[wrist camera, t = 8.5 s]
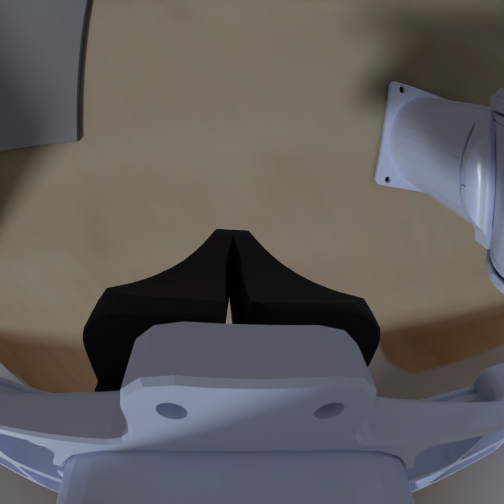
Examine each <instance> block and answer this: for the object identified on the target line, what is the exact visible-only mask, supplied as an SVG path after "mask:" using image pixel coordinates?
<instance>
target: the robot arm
mask: <svg viewBox="0 0 504 504" xmlns="http://www.w3.org/2000/svg"><path fill="white" fill-rule="evenodd" d="M400 87H402V89H403V92H402V93H401V92H400V90H399V88H400ZM490 105H491V107H489V106H484V105H478V104H472V103H466V102H459V101H452V100H447V99H444V98H442V97H439V96H437V95H434V94H431V93H429V92H426V91H423V90H421V89H418V88H415V87H412V86H409V85H406V84H403V83H400V82H395V81H393V82H391V83H390V84H389V87H388V95H387V103H386V111H385V118H384V125H383V132H382V138H381V144H380V150H379V156H378V162H377V167H376V172H375V181H376V182H377V183H378V184H380V185H384V186H391V187H396V188H402V189H408V190H413V191H419V192H424V193H427V194H428V195H430V196H431V197H433V198H434V199H436V200H437V201H439V202H440V203H442V204H444V205H445V206H447V207H448V208H449V209H451V210H452V211H454V212H455V213H457V214H458V215H460V216H461V217H463V218H464V219H465V220H467V221H468V222H470V223H471V224H472V225H473V226H474V229H475V240H476V241H477V242H479V243H480V244H481V245H482V246H483V247H485V248H486V249H487V250H488V251H487V255H486V270H487V273H488V276H489V277H490V279H491V281H492V282H493V284H494V285H495V286H496V287H497V288H498V289H499V290H500V291H501V292H502V293H503V294H504V88H499V89H498V90H497V91H496V93H495V95H492V96H491V97H490ZM387 176H388V177H389V179H388V181H386V182H385V178H386V177H387ZM229 297H230V307H231V316H232V324H225V323H226V316H227V309H228V302H229ZM379 341H380V327H379V325H378V323H377V321H376V319H375V317H374V315H373V313H372V311H371V310H370V308H369V306H368V305H367V303H366V301H365V300H364V298H360V297H356V296H352V295H348V294H345V293H341V292H337V291H334V290H332V289H329V288H326V287H324V286H321V285H319V284H316V283H314V282H312V281H310V280H308V279H306V278H304V277H302V276H300V275H298V274H297V273H295V272H293V271H292V270H290V269H289V268H287V267H286V266H284V265H283V264H282V263H280V262H279V261H278V260H277V259H276V258H274V257H273V256H272V255H271V254H270V253H269V252H268V251H267V250H266V249H264V247H263V246H262V245H261V244H260V243H259V242H258V241H257V240H256V239H255V238H254V236H253V235H252V234H251V233H250V232H249V231H244V230H225V229H216V230H215V231H214V232H213V233H212V234H211V236H210V237H209V238H208V239H207V240H206V241H205V242H204V243H203V244H202V245H201V246H200V247H199V248H198V249H197V250H196V251H195V252H194V253H193V254H191V255H190V256H189V257H188V258H186V259H185V260H184V261H182V262H180V263H179V264H177V265H175V266H174V267H172V268H170V269H168V270H166V271H163V272H161V273H159V274H157V275H155V276H152V277H149V278H147V279H143V280H140V281H137V282H133V283H129V284H125V285H120V286H115V287H110V288H107V289H106V290H105V292H104V293H103V295H102V296H101V297H100V299H99V300H98V302H97V304H96V306H95V308H94V309H93V311H92V313H91V315H90V317H89V319H88V321H87V323H86V325H85V327H84V331H83V342H84V347H85V350H86V353H87V355H88V358H89V360H90V363H91V365H92V368H93V370H94V373H95V375H96V377H97V380H98V383H97V386H96V388H95V391H94V392H83V393H48V392H45V391H41V390H38V389H35V388H31V387H28V386H25V385H22V384H19V383H16V382H13V381H10V380H7V379H5V378H2V377H0V464H1V465H3V466H5V467H7V468H9V469H10V470H12V471H14V472H16V473H18V474H20V475H22V476H23V477H25V478H28V479H29V480H31V481H33V482H35V483H37V484H40V485H42V486H44V487H46V488H48V489H51V490H53V491H55V492H58V493H59V494H58V498H57V503H56V504H415V503H414V499H413V496H412V492H414V491H416V490H419V489H421V488H424V487H426V486H428V485H430V484H433V483H435V482H437V481H439V480H441V479H443V478H445V477H447V476H449V475H451V474H453V473H455V472H457V471H459V470H461V469H463V468H464V467H466V466H468V465H470V464H472V463H474V462H476V461H477V460H479V459H481V458H482V457H485V456H486V455H488V454H490V453H491V452H493V451H495V450H496V449H497V448H498V447H499V446H501V445H502V444H503V443H504V363H501V364H498V365H495V366H492V367H489V368H487V369H486V370H484V371H483V372H482V373H481V374H480V375H479V377H478V378H477V380H476V381H475V383H474V385H473V386H469V387H466V388H463V389H460V390H457V391H453V392H449V393H446V394H442V395H438V396H434V397H430V398H427V399H423V400H406V399H394V398H383V397H376V392H377V390H376V387H375V385H374V382H373V380H372V377H371V375H370V373H369V370H368V366H369V364H370V362H371V360H372V358H373V356H374V353H375V352H376V349H377V347H378V344H379Z"/></svg>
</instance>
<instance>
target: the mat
mask: <svg viewBox="0 0 504 504" xmlns="http://www.w3.org/2000/svg"><path fill="white" fill-rule="evenodd" d="M88 5H89V0H0V151H6V150H12V149H18V148H24V147H31V146H39V145H47V144H56V143H65V142H76V141H79V93H80V72H81V59H82V48H83V39H84V31H85V24H86V17H87V11H88Z"/></svg>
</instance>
